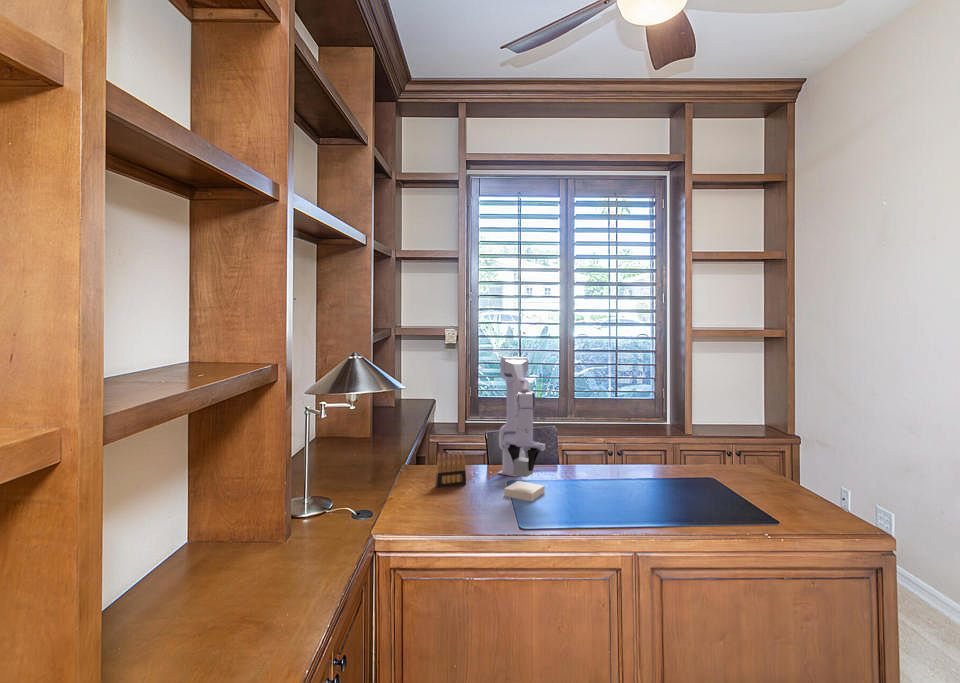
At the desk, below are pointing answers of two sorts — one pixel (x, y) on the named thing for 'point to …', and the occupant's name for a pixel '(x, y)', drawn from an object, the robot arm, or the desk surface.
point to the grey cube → (521, 467)
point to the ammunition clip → (450, 470)
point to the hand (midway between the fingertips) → (523, 469)
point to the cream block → (524, 491)
